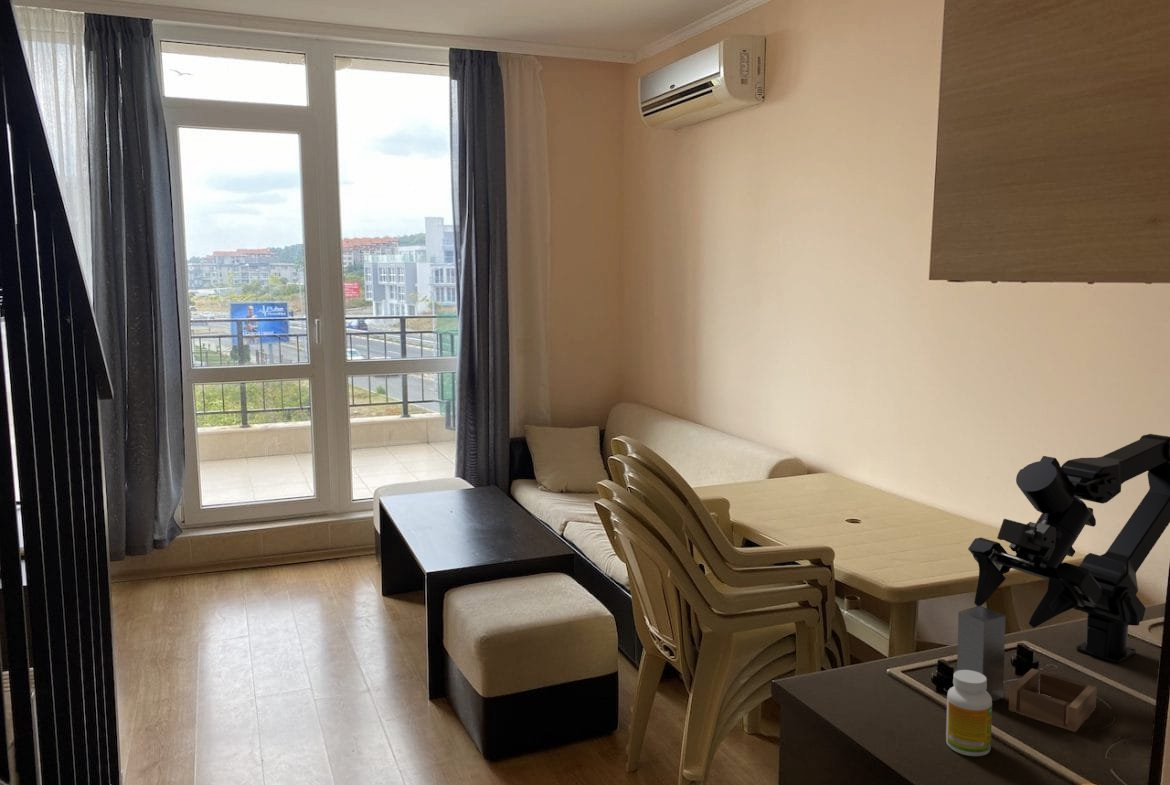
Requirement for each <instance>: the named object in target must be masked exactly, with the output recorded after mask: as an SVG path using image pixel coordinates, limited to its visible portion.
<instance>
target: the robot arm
mask: <svg viewBox="0 0 1170 785" xmlns="http://www.w3.org/2000/svg"><path fill="white" fill-rule="evenodd" d="M1145 472H1146V473H1147V480H1148V486H1149V489H1148V491H1147V492H1146V494H1145V495H1144V497H1143V498H1142V499H1141V501H1140V503H1138V505H1137V506H1136V508H1135V509H1134V511H1133V512H1132V514H1131V515H1130V517H1129V518H1128V520H1127V521H1126V522H1125V524H1124V526H1123V527H1122V529H1121V530H1120V531H1119V533H1118V534H1117V536H1116V537H1115V539H1114V540H1113V542H1112V543H1111V545H1110V546H1109V547H1108V549H1107V550H1106V552H1105V553H1103V554H1100V555H1098V554H1095V553H1092V552H1090V553H1088V554H1086V555H1085V556H1084V557H1083V559H1082V561H1081V563H1080V564H1079V565H1075V564H1073V563H1068V562H1063V561H1064V560H1065V559H1066V557H1067V556H1068V557H1071V558H1072V557H1073V556H1074V555H1075V553H1076V552H1077V551H1076V550H1075V549H1074V547H1073V545H1074V544H1075V542H1076V540H1077V539H1078V537H1079V536H1080V535H1081V532H1082V531H1083V529H1084V527H1086V526H1089V527H1096V525H1097V522H1096V521H1097V520H1096V518H1095V515H1094V509H1093V508H1092V507H1088V506H1087V505H1086V503H1085V502H1084V501H1088V502H1093V503H1096V504H1107V503H1108V502H1110V501H1111V500H1113V499H1114V498H1115V497H1116V496H1118V495H1119V494H1120V493H1121V492H1122V484H1124V483H1125V482H1127V481H1129V480H1132V479H1134V478H1136V477H1138V476H1140V475H1142V474H1143V473H1145ZM1015 482H1016V485H1017V487H1018V488H1019V490H1020V491H1021V492H1022V494H1023V495H1024V496H1025V497H1026V499H1027V500H1028V501H1029V503H1030V504H1031V506H1033V508H1034V509H1035V510H1036V511H1037V512H1039V513H1041V515H1040V516H1039V518H1037V520H1036V522H1032V521H1029V522H1028V523H1026V524H1025V523H1024V522H1023V523H1022V522H1018V521H1016V520H1011V519H1009V518H1003V520H1002V523H1001V526H1000V528H999V531H998V534H997V537H996V539H997V540H1000V541H1005V542H1007V543H1009V544H1010V545H1008V547H1009V548H1010V550H1011V551H1012V552H1014V553H1016V554H1015V555H1014V554H1013V555H1012V554H1009V553H1008V552H1007V551H1006V549H1005V548H1004V547H1003V545H1002V544H1001V543H1000V542H997V541H994V540H992V539H987V538H984V537H976V538H974V539H973V541H972V542H971V543H970V545H969V547H967V548H968V551H969V552H970V553H971V554H972V556H973V559H974V560H975V561H976V563H978V564H977V565H978V581H977V586H976V592H975V598H974V602H973V603H974V605H975V607H977V606H981V607H982V606H983V605H984V604H985V603H986V602H987V601H988V600H989V599H990V598H991V597H992V596H993V595H994V593H995V592H996V591H997V589H999V587H1000V586H1002V584H1003V583H1004V581H1005V580H1006V577H1005V576H1004V575H1005V574H1007V573H1009V572H1010V570H1011V569H1013V570H1015V571H1016V570H1017V571H1019V572H1023V573H1026V574H1028V575H1031V576H1034V577H1038V578H1041V579H1044V580H1047V581H1048V584H1047V591H1046V592H1045V594H1044V595H1043V597H1042V599H1041V600H1040V602H1039V604H1038V605H1037V607H1036V608H1035V610H1034V612H1033V613H1032V615H1031V618H1030V619H1029V621H1028V625H1029V627H1031V628H1033V629H1035V628H1037V627H1039V626H1040V625H1042V624H1044V623H1046V622H1047V621H1049V620H1051V619H1053V618H1055V617H1057V616H1058V615H1061V614H1063V613H1064V612H1068V611H1069V610H1072V609H1074V610H1075V611H1080V612H1083V613H1086V633H1085V634H1086V635H1085V641H1084V642H1082V643H1080V644H1078V645H1077V646H1076V647H1075V649H1076V651H1078V652H1082V653H1085V654H1089V655H1091V656H1094V657H1097V658H1100V659H1104V660H1107V661H1110V662H1112V663H1117V664H1118V663H1121V662H1122V661H1124V660H1126V659H1128V658H1129V657H1131V656H1133V655H1135V654H1136V653H1137V649H1135V648H1133V647H1129V646H1128V638H1129V637H1128V635H1129V626H1136V627H1137V626H1139V625H1140V622H1143V620H1144V617H1145V612H1146V607H1145V605H1144V604H1143V602H1142V601H1141V599H1140V598H1139V597H1138V596H1137V593H1138V591H1139V586H1138V581H1137V580H1138V579H1137V573H1138V571H1139V569H1140V567H1141V566H1142V565H1143V564H1144V561H1145V560H1146V558H1147V557H1148V556H1149V554H1150V552H1151V551H1152V549H1153V548H1154V547H1155V545H1156V544H1157V542H1158V541H1159V539H1161V536H1162V535H1163V533H1164V532H1165V530H1166V528H1167V527H1168V526H1169V524H1170V436H1168V435H1162V434H1161V435H1160V434H1153V433H1147V434H1144V435H1142V436H1140V438H1139V439H1138V440H1135V441H1134V442H1131V443H1129V444H1126V445H1125V446H1122V447H1119V448H1118V449H1116V450H1113V451H1111V452H1109V453H1107V454H1105V455H1102V456H1099V457H1080V458H1078V457H1077V458H1073V459H1069V460H1066V461H1065V462H1064V463H1063V464H1062V465H1061V464H1060V462H1059V460H1058V459H1057V458H1056V457H1051V456H1047V455H1046V456H1045V455H1043V456H1042V457H1041V459H1040V460H1039V461H1035V462H1031V463H1029V464H1028V465H1025V466H1024V467H1023V468H1021V469H1019V471H1018V472H1017V474H1016V478H1015ZM1083 500H1084V501H1083Z"/></svg>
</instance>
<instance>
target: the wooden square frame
mask: <svg viewBox="0 0 1170 785" xmlns="http://www.w3.org/2000/svg"><path fill="white" fill-rule="evenodd" d="M1008 690H1009V691H1008V694H1009V695H1008V711H1009V710H1010V711H1009V712H1011V711H1012V713H1014V712H1016V713H1015V714H1017V713H1019V714H1018V715H1022V716H1024V715H1025V717H1027V716H1028V717H1027V718H1030V717H1031V718H1030V719H1033V718H1034V719H1033V720H1037V721H1039V722H1042V723H1045V724H1048V725H1049V724H1050V725H1052V726H1055V727H1058V728H1060V729H1061V728H1062V729H1065V730H1067V731H1071V732H1073V733H1076V732H1077V731H1078V730H1079V729H1080V727H1081V726H1082V725H1083V724H1084V723H1085V722H1086V721H1087V720H1088V719H1089V718H1090V716H1091V715H1092V714H1093V713H1092V711H1093V710H1094V709H1095V708H1096V709H1097V696H1098V694H1097V692H1098V686H1095V685H1091V684H1088V685H1087V686H1086V683H1085V682H1081V681H1079V680H1078V681H1077V680H1074V679H1070V678H1067V677H1063V676H1060V675H1057V674H1052V673H1050V672H1047V671H1042V672H1041V673H1040V670H1039V669H1036V668H1030V670H1028V671H1027V672H1026V673H1025V674H1024V675H1023V676H1022V677H1021V678H1019V679H1018V680H1017V681H1015V683H1014V684H1012V685H1011V686H1010V687H1009V688H1008ZM1039 690H1040V694H1038V693H1039ZM1041 694H1045V695H1048V696H1051V697H1047V696H1044V695H1041ZM1096 709H1095V710H1096ZM1095 710H1094V711H1095ZM1091 713H1092V714H1091ZM1090 714H1091V715H1090ZM1089 715H1090V716H1089ZM1085 720H1086V721H1085Z"/></svg>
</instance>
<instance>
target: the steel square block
mask: <svg viewBox="0 0 1170 785" xmlns="http://www.w3.org/2000/svg"><path fill="white" fill-rule="evenodd" d="M957 621H958V623H957V655H956V656H957V657H956V658H957V662H956V663H957V664H956V665H957V666H956V671H958V670H971V671H976V672H979V673H981V674H983V675H984V676H985V677H986V678H987V689H986V691H987V692H988V693H989V694H990V696H991V698H992V701H993V702H995V701H998V700H1001V699H1003V698H1004V677H1005V676H1004V674H1005V671H1004V670H1005V648H1006V647H1005V642H1006V640H1005V639H1006V637H1005V636H1006V614H1002V613H999V612H997V611H994V610H992V609H989V608H987V607H984V606H982V605H981V606H973V607H971V608H970V607H969V608H966V609H963V610H960V611H958V620H957ZM1000 698H1001V699H1000Z"/></svg>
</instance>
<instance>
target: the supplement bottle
mask: <svg viewBox="0 0 1170 785" xmlns="http://www.w3.org/2000/svg"><path fill="white" fill-rule="evenodd" d="M952 684H953V686H952V687H949V689H948V690H947V694H946V719H945V720H946V721H945V722H946V725H945V726H946V727H945V742H946V745H947V747H949V749H951V750H952V751H954V752H956V753H957V754H960V755H962V756H968V757H982V756H986V755H988V754H989V753H990V751H991V749H992V748H991V747H992V720H993V714H992V713H993V702H992V698H991V696H990V694H989V693H988V692H987V691H986V689H987V678H986V677H985V676H984V675H983V674H981V673H979V672H976V671H971V670H958V671H957V670H956V671H955V672H954V673H953V679H952Z"/></svg>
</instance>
